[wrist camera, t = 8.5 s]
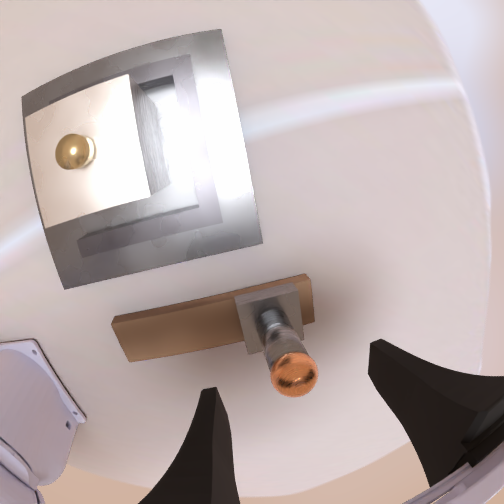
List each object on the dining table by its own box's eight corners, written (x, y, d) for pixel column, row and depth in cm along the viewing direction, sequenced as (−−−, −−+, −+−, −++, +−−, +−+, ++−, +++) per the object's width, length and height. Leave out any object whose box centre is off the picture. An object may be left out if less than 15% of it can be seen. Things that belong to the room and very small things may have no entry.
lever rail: (309, 314, 20) (314, 321, 19) (131, 353, 18) (129, 362, 17) (305, 273, 19) (310, 279, 18) (114, 316, 17) (110, 324, 16)
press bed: (260, 239, 17) (268, 251, 15) (69, 284, 16) (55, 299, 14) (220, 34, 13) (222, 17, 11) (27, 98, 12) (9, 93, 10)
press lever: (298, 329, 19) (339, 402, 12) (245, 343, 18) (266, 423, 12) (292, 281, 17) (339, 347, 11) (233, 296, 17) (253, 372, 10)
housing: (170, 183, 15) (145, 199, 8) (96, 204, 14) (35, 233, 8) (155, 105, 13) (122, 67, 7) (81, 129, 13) (14, 115, 6)
